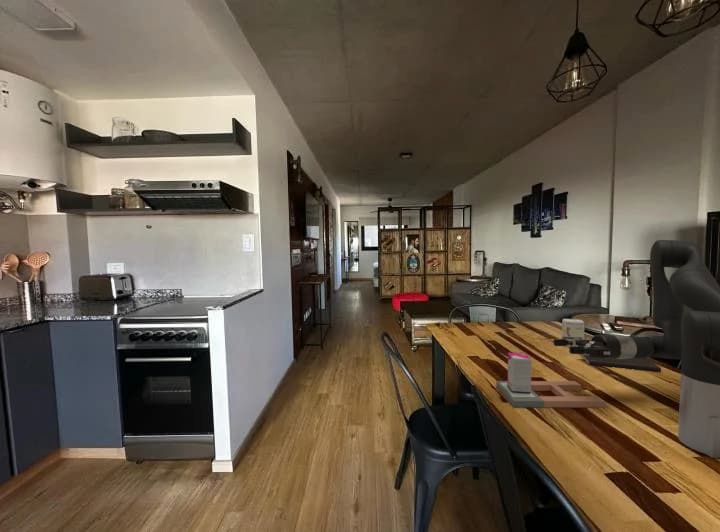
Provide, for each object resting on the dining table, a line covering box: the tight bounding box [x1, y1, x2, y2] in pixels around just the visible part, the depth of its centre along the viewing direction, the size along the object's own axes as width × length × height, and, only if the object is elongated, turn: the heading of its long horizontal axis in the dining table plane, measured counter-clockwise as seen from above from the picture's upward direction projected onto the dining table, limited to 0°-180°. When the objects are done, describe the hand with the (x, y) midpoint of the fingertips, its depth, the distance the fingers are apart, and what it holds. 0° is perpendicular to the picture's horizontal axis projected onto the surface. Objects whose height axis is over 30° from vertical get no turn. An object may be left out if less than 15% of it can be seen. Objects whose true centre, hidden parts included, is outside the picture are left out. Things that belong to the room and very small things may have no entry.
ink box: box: [561, 318, 585, 343], centre depth 154 cm, size 9×5×12 cm, turn 67°
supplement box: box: [506, 352, 533, 394], centre depth 103 cm, size 6×6×12 cm
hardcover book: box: [579, 354, 662, 373], centre depth 131 cm, size 16×23×2 cm
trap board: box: [496, 380, 606, 409], centre depth 103 cm, size 14×27×2 cm, turn 87°
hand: (561, 346), depth 101 cm, fingers open, 8 cm apart
